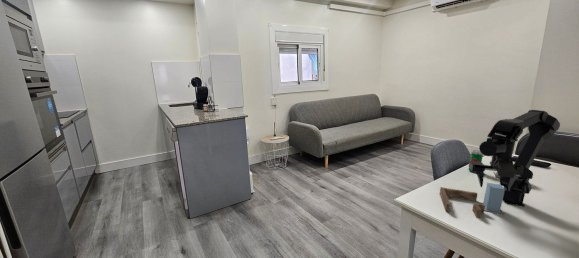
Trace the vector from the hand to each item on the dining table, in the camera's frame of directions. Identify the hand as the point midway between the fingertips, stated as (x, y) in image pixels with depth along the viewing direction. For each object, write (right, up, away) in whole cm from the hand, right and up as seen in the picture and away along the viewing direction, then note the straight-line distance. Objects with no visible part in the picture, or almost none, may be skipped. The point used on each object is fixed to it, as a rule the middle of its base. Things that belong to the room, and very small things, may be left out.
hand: (494, 188), depth 97 cm
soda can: (+21, 0, +38) cm, 43 cm away
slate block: (0, -8, +2) cm, 9 cm away
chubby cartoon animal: (+31, -2, +28) cm, 42 cm away
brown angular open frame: (-10, -8, +4) cm, 13 cm away
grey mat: (0, -9, +2) cm, 9 cm away
